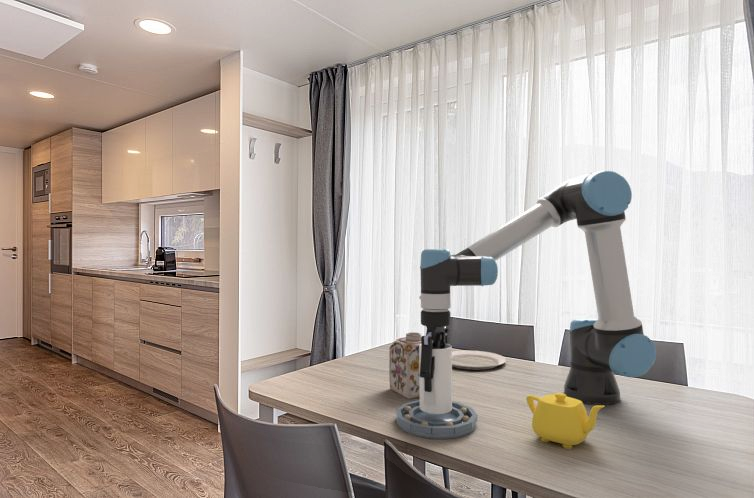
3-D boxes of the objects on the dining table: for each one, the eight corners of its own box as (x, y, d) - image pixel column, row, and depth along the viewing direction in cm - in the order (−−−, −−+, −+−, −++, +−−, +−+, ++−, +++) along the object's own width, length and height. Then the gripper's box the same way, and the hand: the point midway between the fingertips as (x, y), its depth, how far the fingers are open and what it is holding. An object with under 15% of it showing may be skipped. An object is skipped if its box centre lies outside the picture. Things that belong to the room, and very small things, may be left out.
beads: (478, 412, 122) (478, 405, 122) (458, 436, 106) (458, 429, 106) (417, 402, 130) (417, 396, 130) (390, 423, 114) (390, 416, 114)
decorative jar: (388, 388, 146) (388, 332, 146) (419, 383, 151) (419, 328, 151) (408, 400, 136) (407, 338, 135) (440, 393, 141) (440, 334, 141)
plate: (427, 358, 186) (427, 353, 186) (483, 353, 194) (483, 348, 194) (457, 375, 162) (457, 369, 162) (520, 368, 170) (520, 363, 170)
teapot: (613, 444, 104) (613, 397, 104) (595, 461, 96) (595, 410, 96) (536, 423, 117) (536, 381, 117) (515, 437, 109) (515, 391, 109)
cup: (451, 415, 113) (451, 349, 113) (417, 412, 115) (417, 348, 115) (452, 403, 121) (452, 342, 121) (421, 401, 123) (421, 341, 123)
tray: (485, 416, 122) (485, 406, 122) (462, 445, 104) (462, 433, 104) (415, 404, 131) (415, 395, 131) (383, 429, 114) (383, 419, 114)
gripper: (436, 304, 129) (436, 385, 129) (405, 314, 110) (405, 409, 110) (462, 305, 125) (462, 389, 125) (434, 316, 107) (435, 414, 107)
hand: (435, 398), depth 118 cm, fingers closed on cup, 8 cm apart
